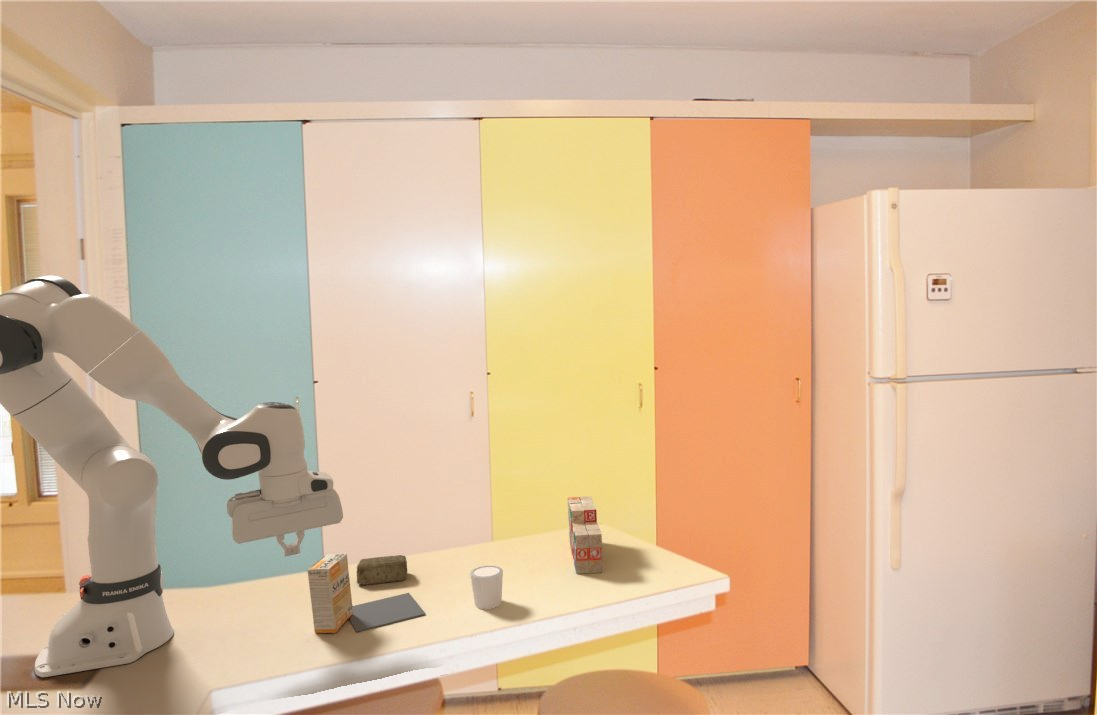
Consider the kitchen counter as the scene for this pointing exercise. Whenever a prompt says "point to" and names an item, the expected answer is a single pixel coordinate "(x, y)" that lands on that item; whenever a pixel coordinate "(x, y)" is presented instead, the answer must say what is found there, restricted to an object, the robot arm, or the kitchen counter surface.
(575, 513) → the stack of blocks
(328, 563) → the supplement box
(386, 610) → the mat
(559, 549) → the kitchen counter surface
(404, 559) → the stone block
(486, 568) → the white cup
